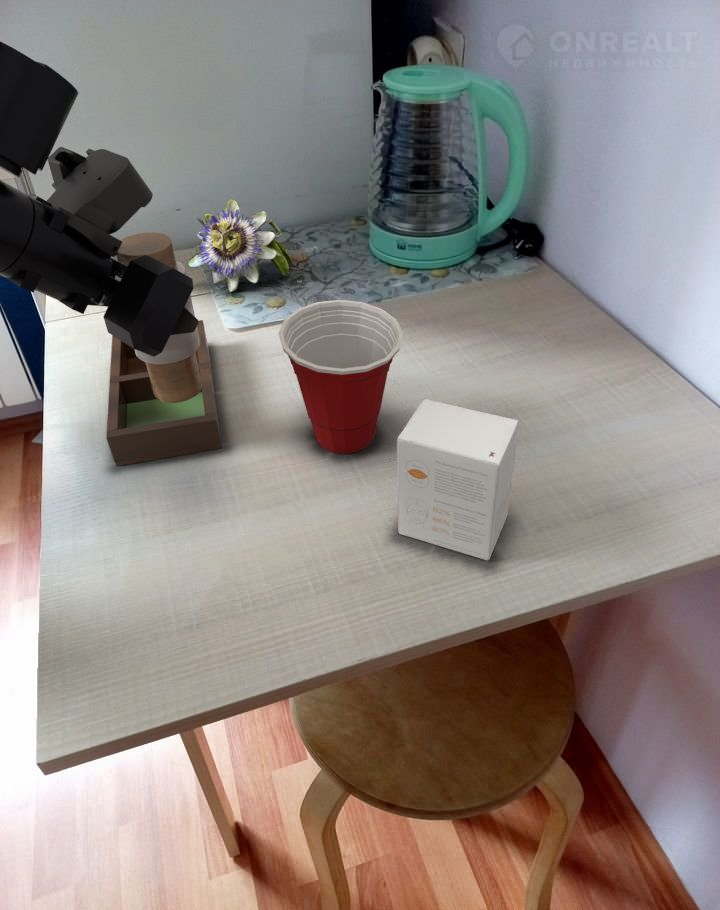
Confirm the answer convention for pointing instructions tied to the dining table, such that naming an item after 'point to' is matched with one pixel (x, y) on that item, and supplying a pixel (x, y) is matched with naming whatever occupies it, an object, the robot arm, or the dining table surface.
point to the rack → (157, 411)
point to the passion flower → (237, 246)
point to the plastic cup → (341, 367)
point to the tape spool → (177, 363)
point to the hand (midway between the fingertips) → (175, 314)
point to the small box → (455, 477)
